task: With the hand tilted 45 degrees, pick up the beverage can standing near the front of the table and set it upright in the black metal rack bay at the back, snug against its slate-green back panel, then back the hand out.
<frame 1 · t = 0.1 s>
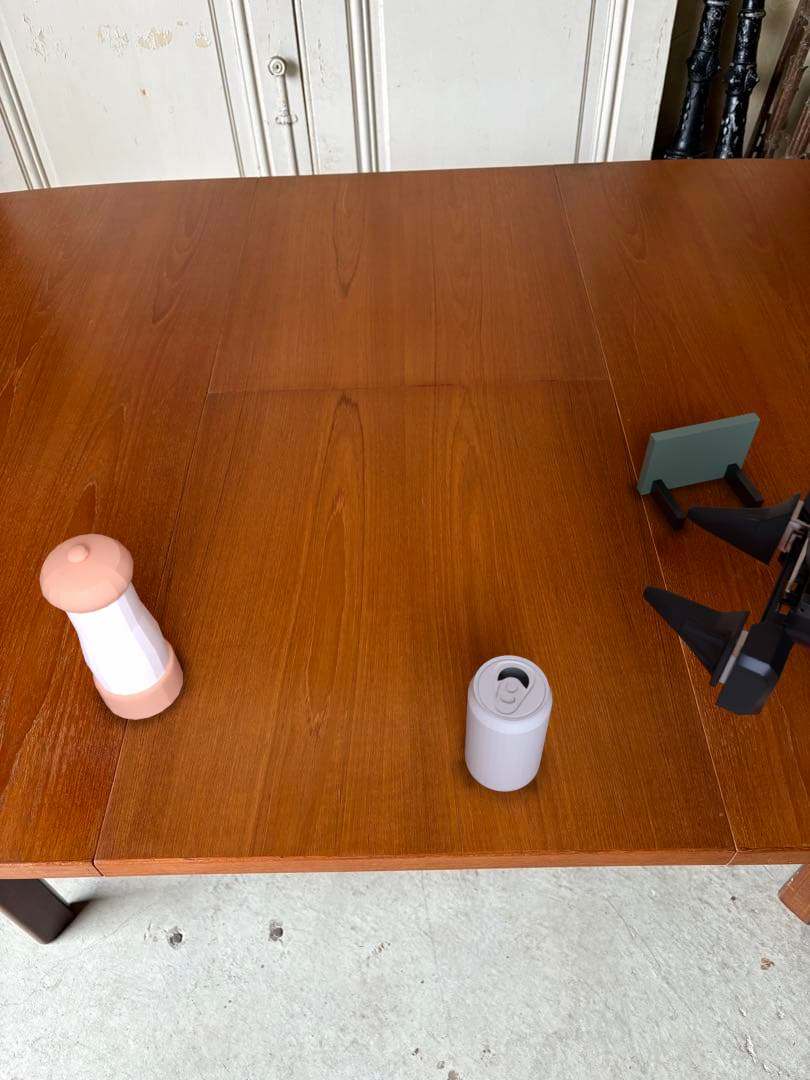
hand: (667, 549, 61), 18 cm above the table, tool horizontal, fingers open, 9 cm apart
pepper shaker: (144, 686, 76), on the table
rack bay: (690, 484, 91), on the table
beverage can: (501, 761, 70), on the table
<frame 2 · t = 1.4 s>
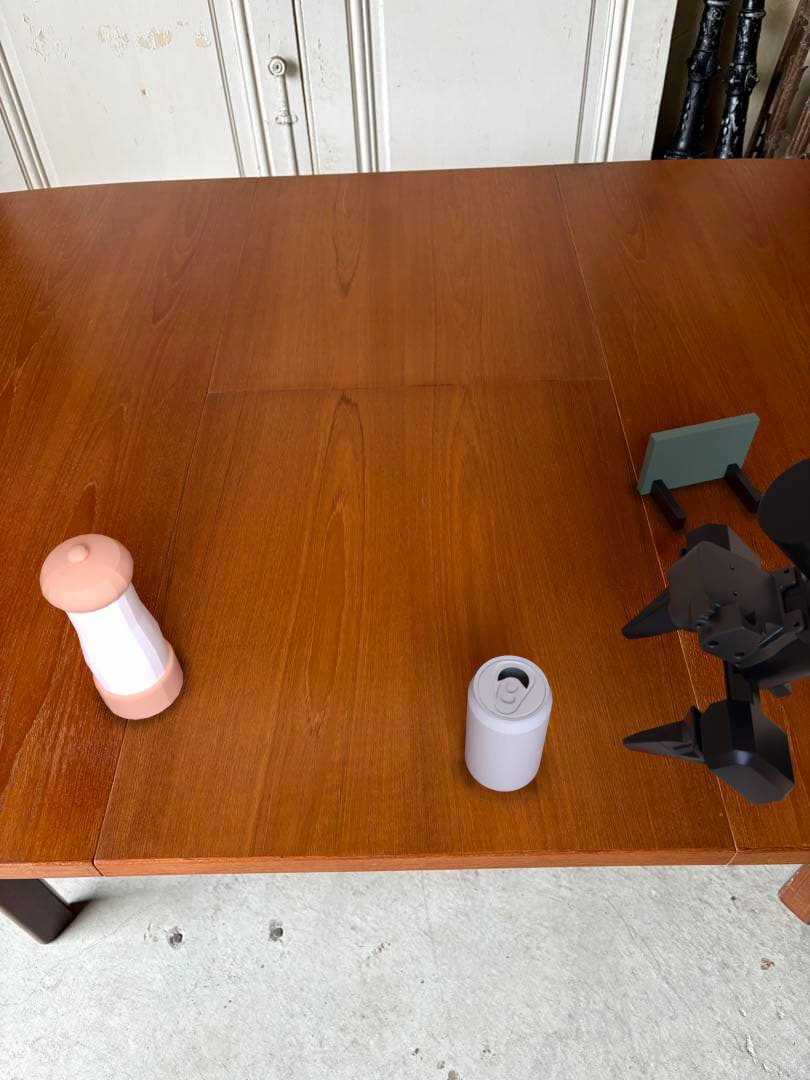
hand: (624, 687, 58), 14 cm above the table, tool tilted 45°, fingers open, 9 cm apart
nothing on the table moved.
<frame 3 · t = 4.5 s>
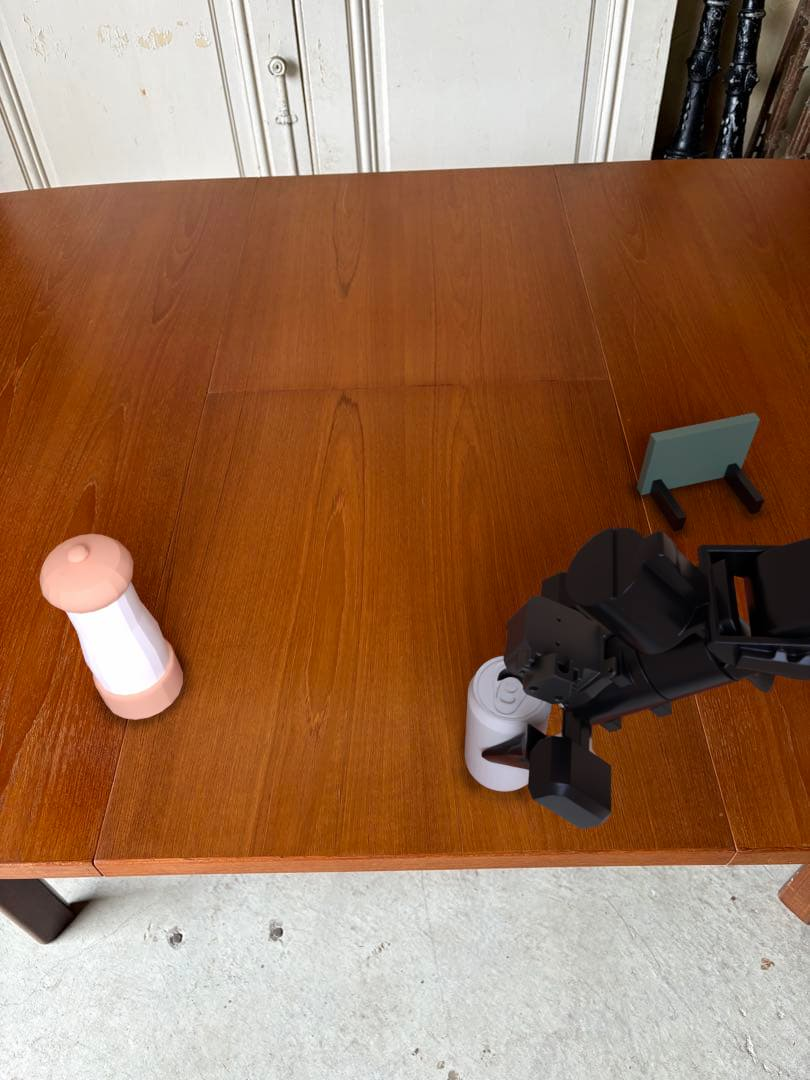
hand: (489, 719, 65), 7 cm above the table, tool tilted 45°, fingers closed on beverage can, 6 cm apart
beverage can: (501, 761, 70), on the table, touching gripper
everything else where it was.
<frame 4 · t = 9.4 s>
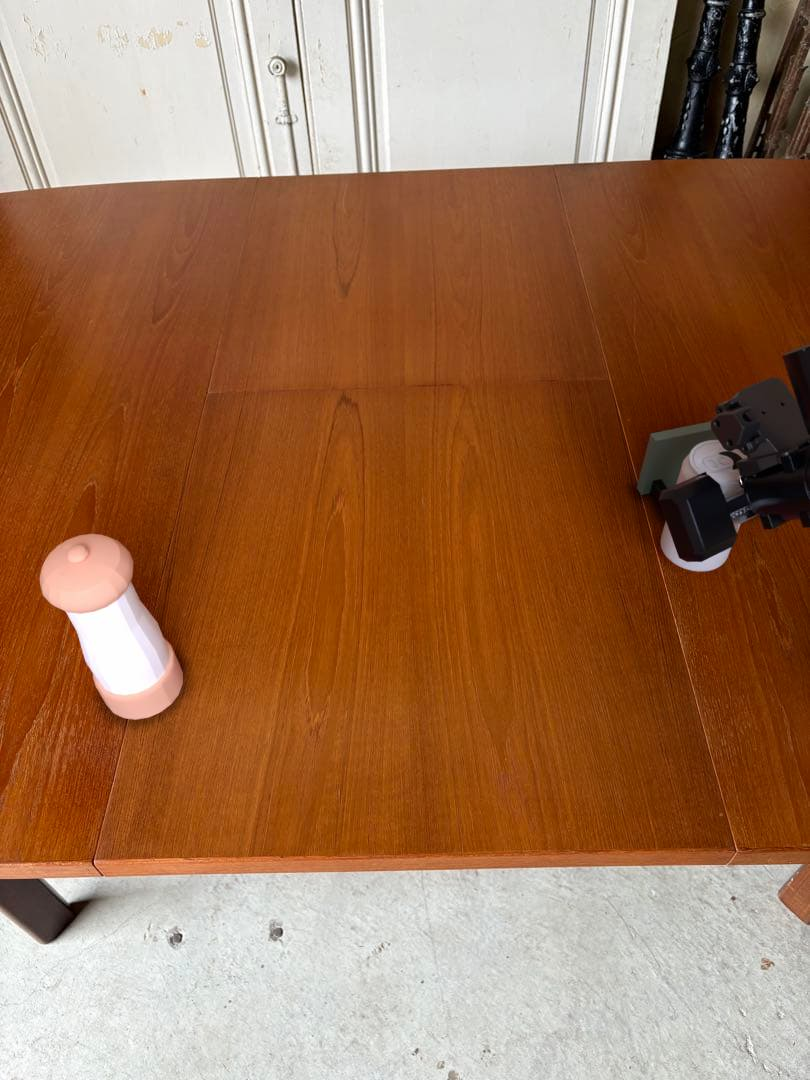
hand: (698, 495, 75), 10 cm above the table, tool tilted 45°, fingers closed on beverage can, 6 cm apart
beverage can: (691, 552, 80), point 4 cm above the table, touching gripper
everything else where it was.
when the fingers open (7 cm above the table, at t = 14.3 s): beverage can stays where it is, on the table.
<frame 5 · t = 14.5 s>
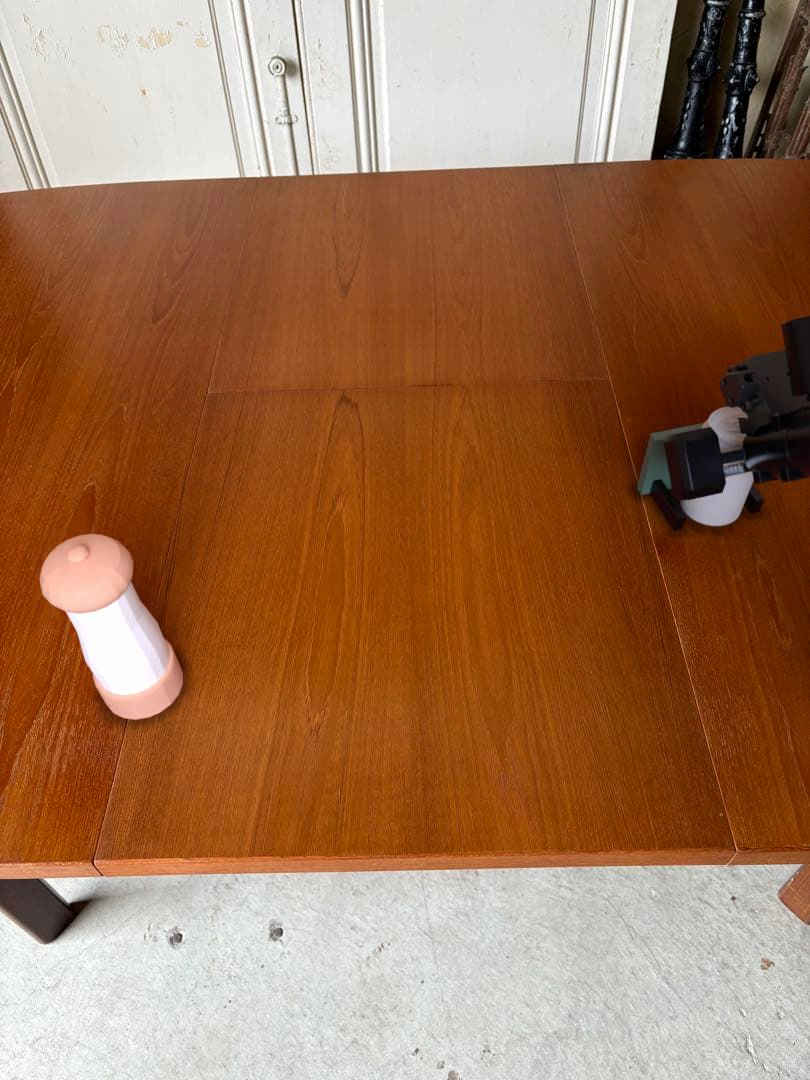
hand: (717, 454, 84), 7 cm above the table, tool tilted 45°, fingers open, 7 cm apart
beverage can: (707, 510, 88), on the table
everything else where it was.
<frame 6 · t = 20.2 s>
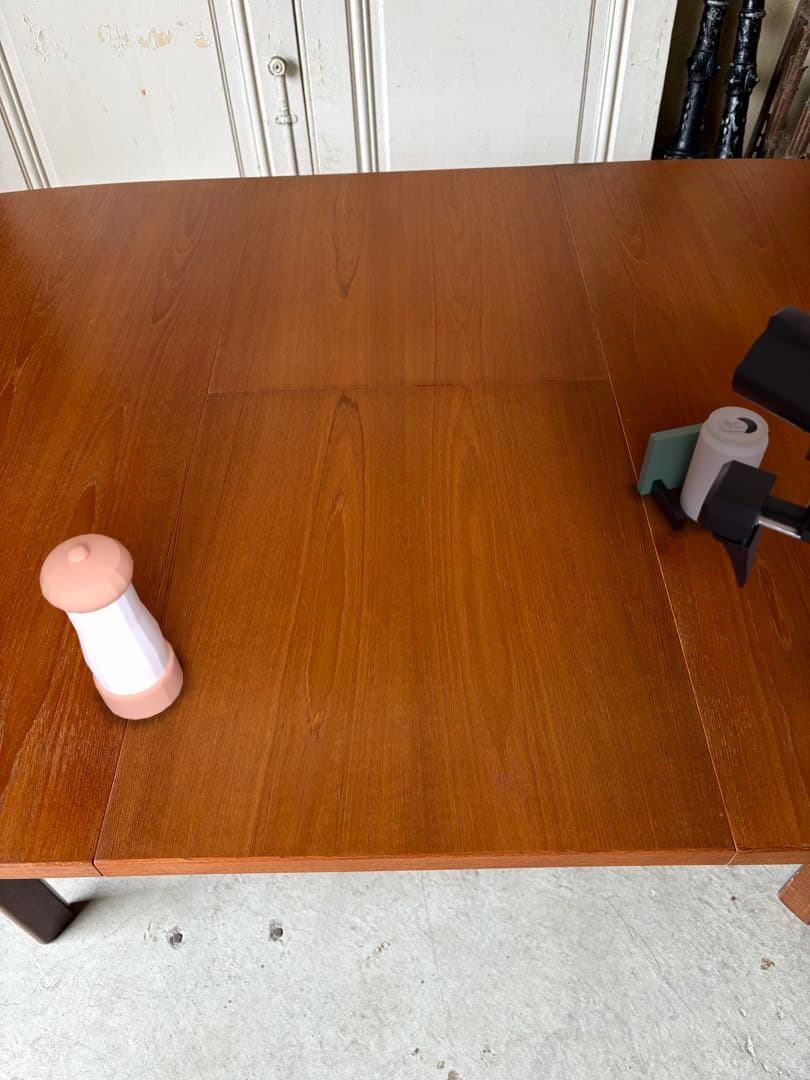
hand: (799, 607, 65), 12 cm above the table, tool pointing down, fingers open, 9 cm apart
nothing on the table moved.
at the end: beverage can 0.1 cm from the target spot on the rack bay, point 0.0 cm above the rack bay's base; beverage can tilted 0°; the gripper is holding nothing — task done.
